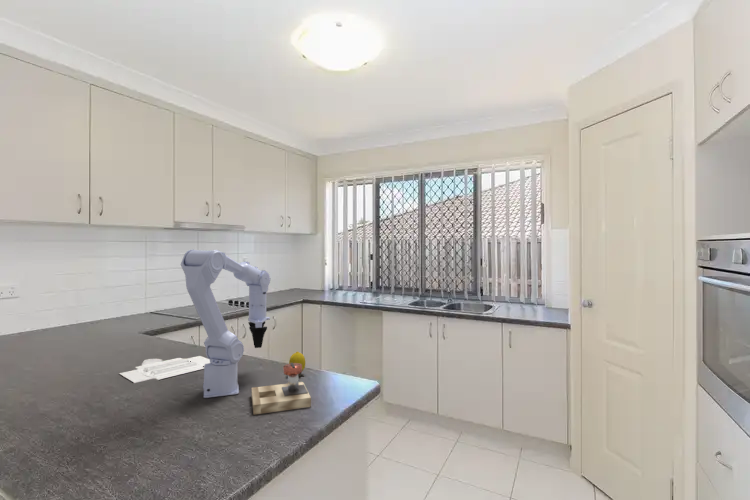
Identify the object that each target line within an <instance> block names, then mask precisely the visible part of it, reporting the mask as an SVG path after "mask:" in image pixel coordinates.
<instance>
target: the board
mask: <svg viewBox="0 0 750 500" xmlns="http://www.w3.org/2000/svg"><path fill="white" fill-rule="evenodd" d="M251 406H252V412H253V414H252V415H255V416H256V415H262V414H268V413H275V412H276V413H277V412H283V411H289V410H298V409H303V408H304V409H305V408H312V397H311V395H310V393H309V390H308V389H307V387H306V385H305V383H304V382H303V381H299V390H297V391H293V392H291V391H288V383H281V384H271V385H265V386H256V387H254V386H253V387H251Z"/></svg>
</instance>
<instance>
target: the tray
mask: <svg viewBox="0 0 750 500" xmlns="http://www.w3.org/2000/svg"><path fill="white" fill-rule="evenodd" d="M190 361H191V362H190ZM208 363H210V359H209V358H208V357H204V356H202V355H198V356H197V355H196V356H193V357H188V358H181V357H176V358H172V359H167V360H163V359H162V358H148V359H144V360H143V362H141V365H138V366H135V367H134V369H133V370H129V371H123V372H120V373H118V375H121V376H123V377H124V378H126V379H127V380H129V381H131V382H133V384H136V383H140V382H141V383H142V382H144V381H145V382H146V381H148V380H156V381H159V380H163V379H167V378H171V377H175V376H179V375H183V374H187V373H191V372H195V371H200V370H204V367H205V364H208ZM203 366H204V367H203Z"/></svg>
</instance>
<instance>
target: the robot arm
mask: <svg viewBox="0 0 750 500" xmlns="http://www.w3.org/2000/svg"><path fill="white" fill-rule="evenodd" d="M180 266H181V269H182V271H183V273H184V275H185V276H184V277H185V286H186V290H187V292H188V294H189V297H190V299H191V301H192V303H193V305H194V308H195V310H196V312H197V314H198V316H199V319H200V321H201V323H202V325H203V328H204V330H205V332H206V335H207V337H206V338H205V340H204V342H203V345H204V346H205V356H206V358H207V359H210V363H208V364H205V366H204V369H203V384H202V385H203V386H202V389H203V398H204V399H208V398H216V397H224V396H225V397H226V396H234V395H238V394H239V393H240V392H239V388H240V387H239V383H238V362H240V360H241V359H242V358H243V357H242V356H244V351H245V347H244V344H243V342H242V341H241V340H239V338H238V336H237V335H236V334H234V333H233V332H232V331H230V330H229V329H228V327H227V324H226V321H225V319H224V317H223V314H222V312H221V310H220V307H219V305H218V303H217V301H216V298H215V296H214V293H213V291H212V288H211V285H212V284H214V283H215V281H216V280H217V278H218V277H219V275H220V274H221V272H222V270H225V271H228V272H230V273H233V276H234V277H235V278H236V279H237V280H239V281H240V282H241V281H242V282H244V283H245V285H246V286H247V287H248V319H247V320H248V325H249V327H248V328H249V331H250V333H251V336H252V341H253V347H254V348H255V349H260V348H262V346H263V342H264V337H265V334H266V331H267V330H268V326H265V324H266V321H269V320H270V319H271V317H270V316H267V299H268V298H267V293H268V291H269V286H270V283H271V276H270V274H269V273H270V272H268V271H266V270H263V269H262V270H261V269H259V268H258V266H254V265H252V264H250V261H241V262H238V261H237V260H235V259H233V258H231V257H230V256H229V255H227V254H226V252H224V251H220V250H219V249H210V250H207V249H202V250H201V249H188V250H187V251H186V252H185V253H184V255H183V257H182V260H181V262H180Z"/></svg>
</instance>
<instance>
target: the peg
mask: <svg viewBox="0 0 750 500" xmlns="http://www.w3.org/2000/svg"><path fill="white" fill-rule="evenodd" d="M282 368H283V374H284V375H285V376H287V384H288V391H291V392H293V391H297V390H299V382H300V381H299V380H300V379H299V374H301V373H303V371H302V364H300V363H290V364H289V363H287V364H285V365H284V366H283V367H282Z"/></svg>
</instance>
